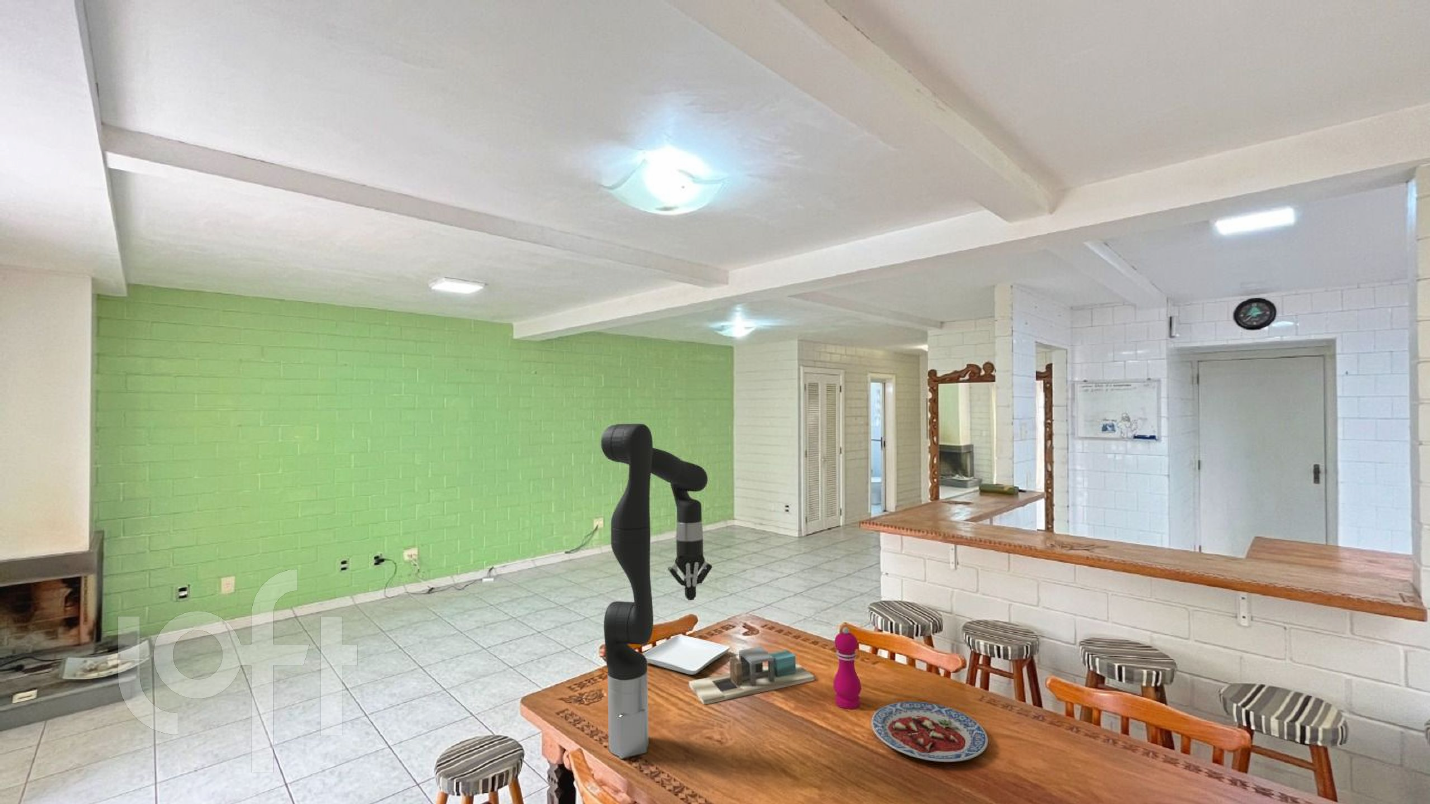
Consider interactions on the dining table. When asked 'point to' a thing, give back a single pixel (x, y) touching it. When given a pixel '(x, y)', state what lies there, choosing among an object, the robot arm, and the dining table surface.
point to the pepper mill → (846, 671)
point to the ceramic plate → (929, 731)
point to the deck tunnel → (751, 664)
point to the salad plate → (685, 654)
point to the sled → (782, 667)
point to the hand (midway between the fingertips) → (690, 599)
